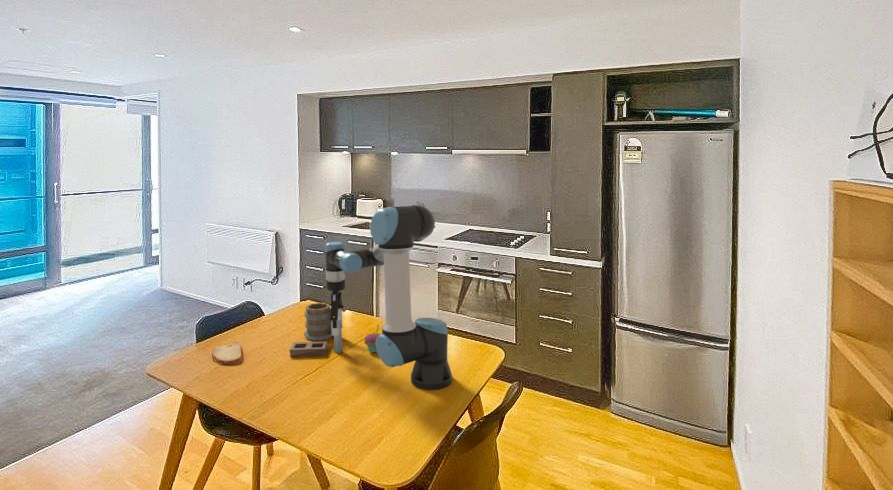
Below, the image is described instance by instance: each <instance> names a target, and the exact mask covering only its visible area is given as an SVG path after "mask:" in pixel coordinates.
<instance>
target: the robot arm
mask: <svg viewBox="0 0 893 490" xmlns="http://www.w3.org/2000/svg"><path fill="white" fill-rule="evenodd" d="M435 226H436V221H435V216H434V215H433V213H432V211H430V210H429V209H428V208H427V207H425V206H423V205H419V204H418V205H417V204H416V205H415V204H413V205H403V206H388V207H383V208H380V209H378V210H377V211H375V213H374V214H373V216H372V218H371V221H370V228H369V229H370V235H371V237H372V241H373V242H374V243H375V245H374V246H373V247H369V248H363V249H357V250H355V249H354V250H349V251H348V250H345V249H346V248H345V244H344V242H340V241H331V242H327V243H326V244H325V245H324V246H325V248H324V249H325V252H324V253H325V254H324V255H325V279H326V282H325V284H326V285H325V286H326V290H327V291H329V292H331V294H330V308H331V318H329V320H331V328H332V335H333V336H334V335H339V325H338V318H340V319H341V324H342V325H343V311H342V309H341V308H343V307H344V305H343V300H342V299H343V298H342V291H343V290H346V280H345V279H346V275H347V273H351V274H353V273H357V272H358V271H359V270H361V269H366V268H372V267H373V268H374V267H379V266H380V267H382V266H383V273H384V274H383V278H384V298H385V301H384V304H385V322H384V323H383V325H381V333H382V334H381V333H379V334H380V335H379V336H378V337H377V339H376V350H377V352H376V353H377V355H378V357H379V359H380V360H381V361H382V363H383V364H384V365H385V366H386V367H389V368H396V367H401V366H404V365H406V364H409V363H412V362H414V365H413V366H412V367H413V368H412V371H411V373H410V383H411V384H412V386H414V387H416V388H418V389H421V390H429V391H430V390H431V391H432V390H441V389H444V388H447V387H448V386H450V385H451V384H452V382H453V373H452V370H451V367H450V364H449V360H448V340H449V339H448V336H449V332H448V324H447V323H446V321H444V320H442V319H439V318H435V317H418V318H417V319H415V321H413V320H412V300H411V269H410V268H411V267H410V252H411V250H412V249H413V248H414V244H415V242H416V243H419V242H422V241H424V240H425V239H427V238H428V237H430V236H431V235H432V233H433V232H434V229H435Z"/></svg>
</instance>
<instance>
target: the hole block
mask: <svg viewBox="0 0 893 490" xmlns="http://www.w3.org/2000/svg"><path fill="white" fill-rule="evenodd" d="M328 348H329V347H328V341H301V342H293V343H292V345H291V347H290V349H289V357H291V358H298V357H319V356H320V357H321V356H323V357H324V356H325V357H326V355H327V354H326V353H327V351H328Z"/></svg>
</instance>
